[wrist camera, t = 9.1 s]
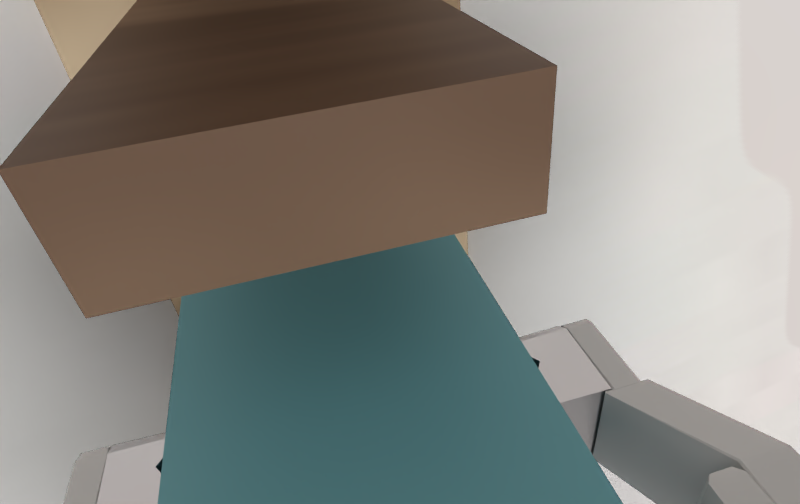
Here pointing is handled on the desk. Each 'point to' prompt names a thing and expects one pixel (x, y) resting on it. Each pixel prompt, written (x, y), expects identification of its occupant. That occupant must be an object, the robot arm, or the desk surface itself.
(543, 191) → the tile
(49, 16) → the oak board
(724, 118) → the desk surface
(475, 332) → the tile
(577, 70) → the desk surface
